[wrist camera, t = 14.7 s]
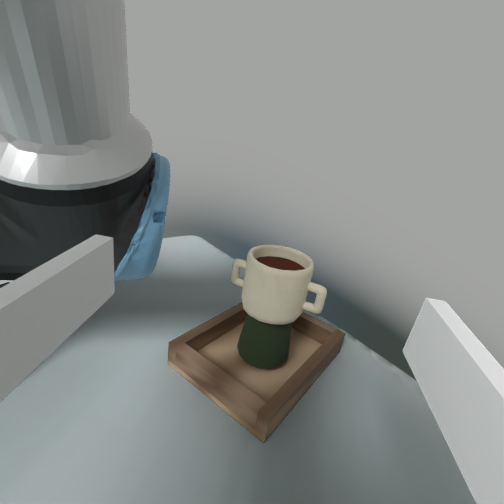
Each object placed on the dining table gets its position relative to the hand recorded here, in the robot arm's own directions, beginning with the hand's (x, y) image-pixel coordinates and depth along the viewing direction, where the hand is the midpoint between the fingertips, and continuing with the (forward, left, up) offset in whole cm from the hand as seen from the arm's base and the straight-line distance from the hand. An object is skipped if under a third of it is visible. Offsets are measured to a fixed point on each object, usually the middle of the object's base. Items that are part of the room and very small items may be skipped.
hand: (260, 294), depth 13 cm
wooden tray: (-9, +17, -19) cm, 27 cm away
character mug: (-8, +17, -19) cm, 27 cm away
